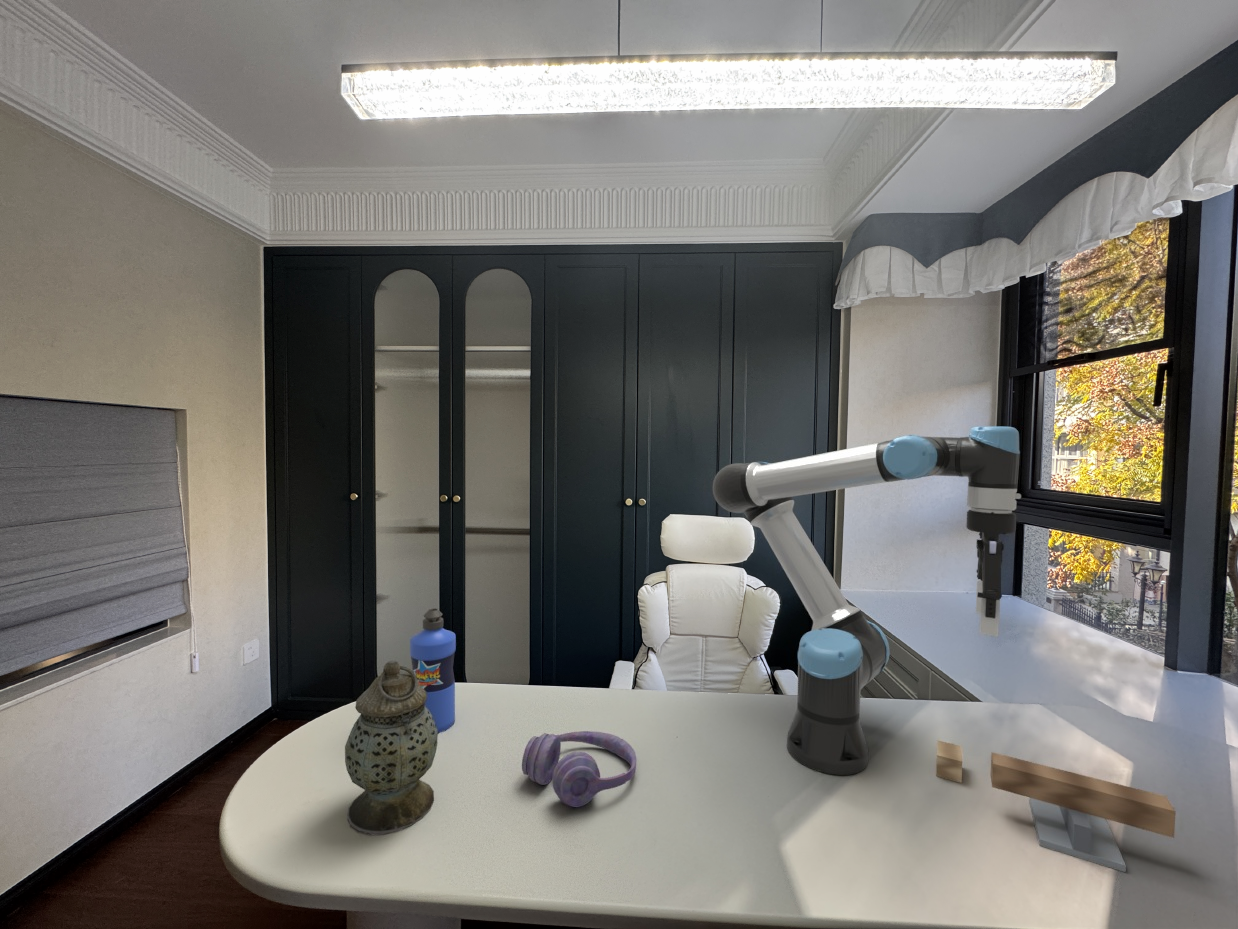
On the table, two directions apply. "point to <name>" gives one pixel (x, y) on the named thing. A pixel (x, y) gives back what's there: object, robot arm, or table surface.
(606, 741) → the headphones
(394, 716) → the lantern
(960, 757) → the block
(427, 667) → the water bottle
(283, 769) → the table surface
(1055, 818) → the fulcrum
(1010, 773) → the walnut bar
